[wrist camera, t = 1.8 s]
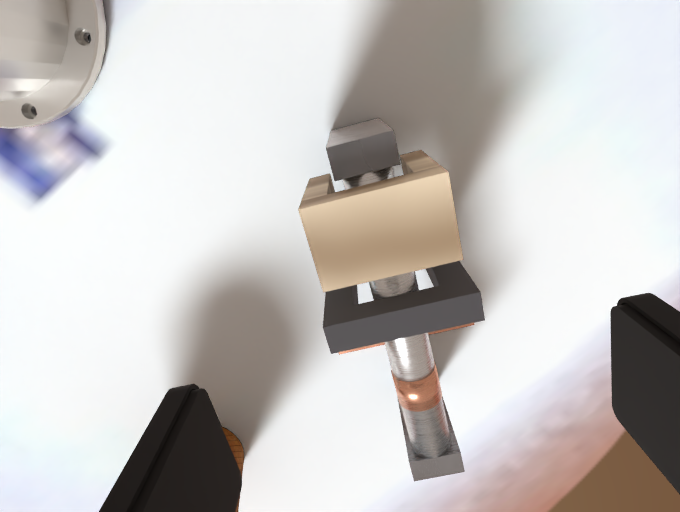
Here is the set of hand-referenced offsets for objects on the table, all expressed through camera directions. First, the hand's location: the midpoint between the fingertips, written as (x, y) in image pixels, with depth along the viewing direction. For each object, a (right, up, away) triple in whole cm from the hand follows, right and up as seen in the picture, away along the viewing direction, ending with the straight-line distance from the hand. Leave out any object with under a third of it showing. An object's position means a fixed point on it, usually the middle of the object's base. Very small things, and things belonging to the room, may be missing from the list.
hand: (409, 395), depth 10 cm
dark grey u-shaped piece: (+1, +3, +19) cm, 20 cm away
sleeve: (0, +7, +15) cm, 16 cm away
